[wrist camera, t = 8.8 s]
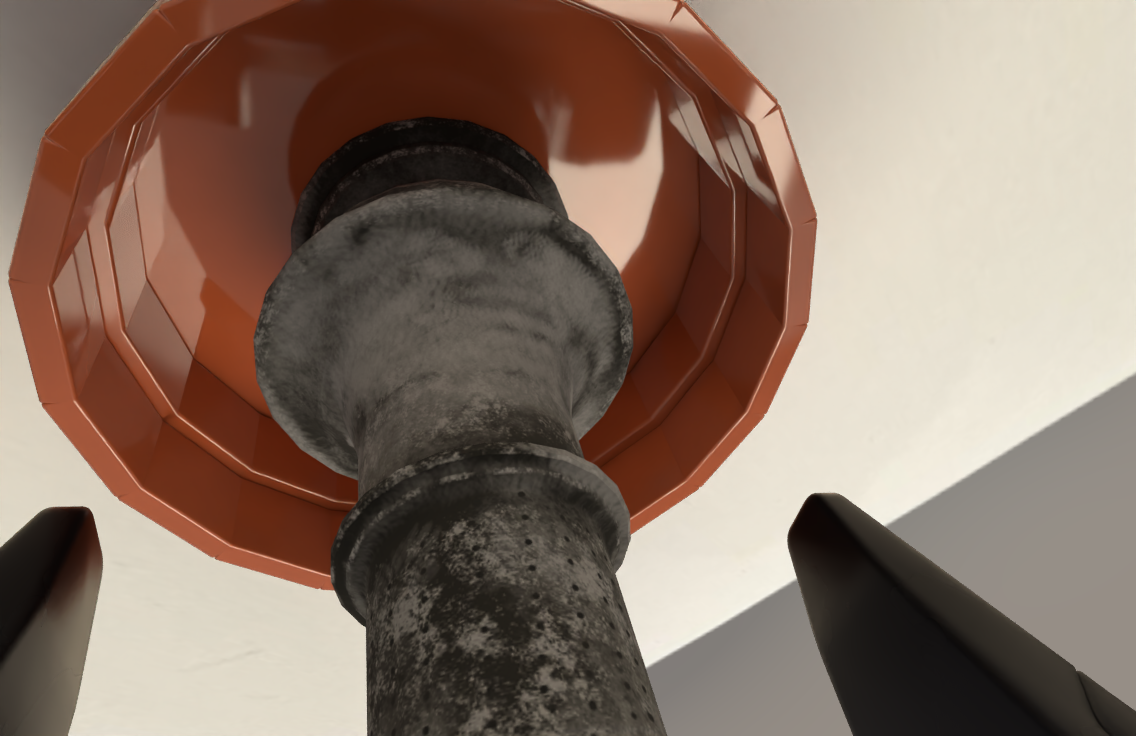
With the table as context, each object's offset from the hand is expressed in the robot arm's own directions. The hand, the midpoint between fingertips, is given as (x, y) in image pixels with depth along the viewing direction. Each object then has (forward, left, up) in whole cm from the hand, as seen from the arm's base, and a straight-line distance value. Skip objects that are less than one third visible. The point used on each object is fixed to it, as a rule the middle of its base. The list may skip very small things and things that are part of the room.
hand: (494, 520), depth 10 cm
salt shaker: (0, 0, -7) cm, 7 cm away
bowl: (0, 0, -7) cm, 7 cm away
